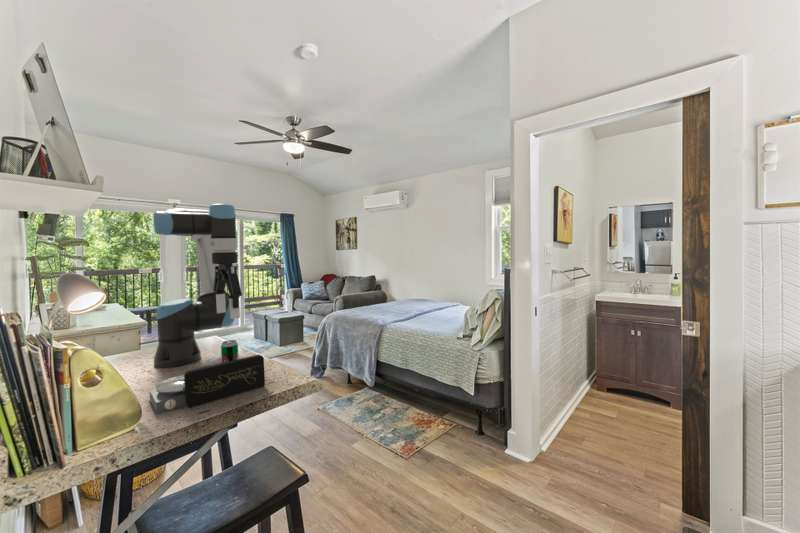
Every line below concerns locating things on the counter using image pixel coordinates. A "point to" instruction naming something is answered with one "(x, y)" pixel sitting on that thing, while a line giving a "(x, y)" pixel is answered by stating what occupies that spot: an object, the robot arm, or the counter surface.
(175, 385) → the scale pan
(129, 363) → the counter surface
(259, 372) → the nameplate
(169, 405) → the scale base
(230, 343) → the soda can
